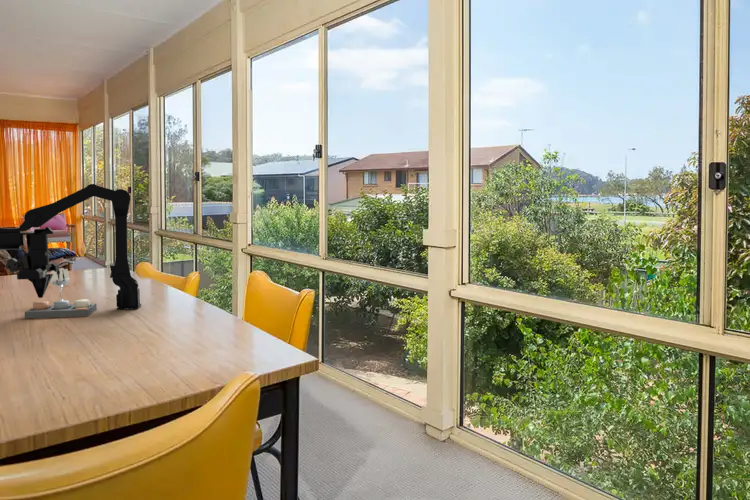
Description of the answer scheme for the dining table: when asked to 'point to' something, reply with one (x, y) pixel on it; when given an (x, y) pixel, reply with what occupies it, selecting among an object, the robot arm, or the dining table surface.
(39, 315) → the button panel
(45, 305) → the terracotta button
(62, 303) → the slate button
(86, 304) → the cream button
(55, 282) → the wineglass
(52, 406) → the dining table surface
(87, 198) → the robot arm
